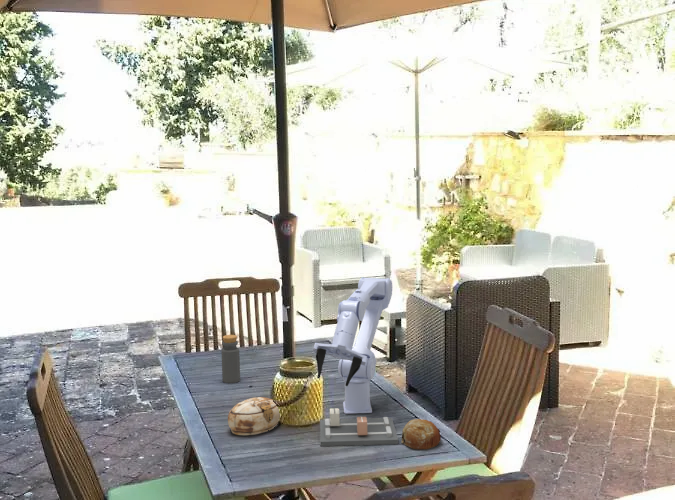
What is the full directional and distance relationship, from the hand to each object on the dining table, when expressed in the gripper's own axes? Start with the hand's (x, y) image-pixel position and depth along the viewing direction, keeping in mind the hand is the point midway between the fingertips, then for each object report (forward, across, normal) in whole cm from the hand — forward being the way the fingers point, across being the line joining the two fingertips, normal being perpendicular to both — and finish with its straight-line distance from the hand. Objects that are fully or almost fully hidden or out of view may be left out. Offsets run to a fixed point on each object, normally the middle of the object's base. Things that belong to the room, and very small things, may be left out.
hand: (332, 380), depth 202 cm
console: (+8, +10, +11) cm, 17 cm away
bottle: (-17, -32, +51) cm, 63 cm away
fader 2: (+9, +11, +7) cm, 16 cm away
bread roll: (+9, +26, +4) cm, 28 cm away
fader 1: (+6, +3, +13) cm, 14 cm away
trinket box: (+10, -17, +19) cm, 28 cm away
